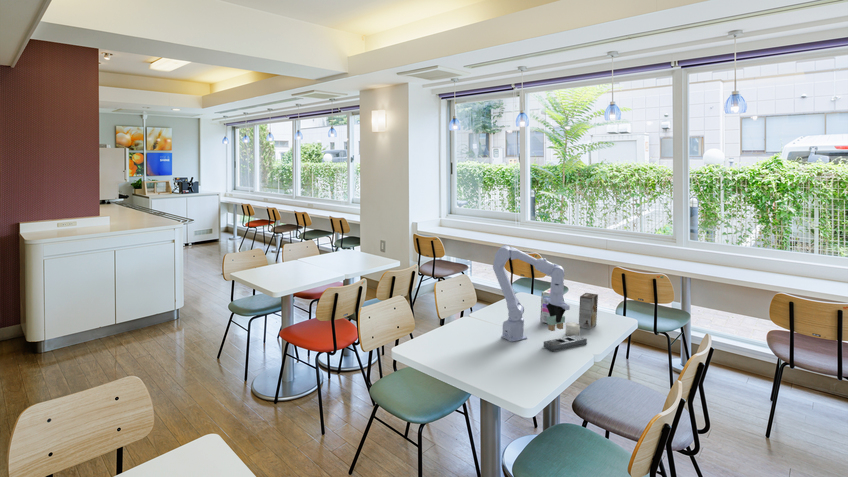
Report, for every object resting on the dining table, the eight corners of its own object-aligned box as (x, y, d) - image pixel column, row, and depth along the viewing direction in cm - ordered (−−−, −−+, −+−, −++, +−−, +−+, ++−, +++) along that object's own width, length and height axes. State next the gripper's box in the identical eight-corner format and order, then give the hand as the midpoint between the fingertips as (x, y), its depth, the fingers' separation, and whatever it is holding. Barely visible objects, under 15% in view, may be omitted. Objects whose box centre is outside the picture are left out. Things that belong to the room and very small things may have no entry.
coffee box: (584, 322, 241) (585, 292, 239) (596, 324, 237) (598, 294, 235) (578, 326, 234) (579, 296, 231) (590, 329, 230) (592, 298, 227)
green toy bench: (551, 331, 210) (551, 318, 209) (546, 329, 212) (547, 317, 211) (564, 328, 213) (565, 316, 212) (559, 326, 216) (560, 314, 215)
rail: (552, 351, 202) (552, 346, 202) (543, 346, 208) (543, 341, 207) (586, 344, 211) (586, 338, 211) (576, 339, 216) (577, 334, 216)
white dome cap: (572, 337, 219) (572, 327, 218) (562, 333, 225) (563, 323, 224) (582, 335, 222) (582, 325, 221) (572, 331, 227) (572, 321, 227)
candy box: (550, 324, 237) (552, 293, 234) (539, 322, 240) (541, 291, 238) (560, 318, 248) (562, 288, 245) (550, 315, 251) (551, 286, 249)
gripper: (575, 295, 205) (573, 324, 207) (552, 287, 218) (551, 315, 220) (563, 297, 202) (561, 326, 204) (540, 289, 215) (539, 317, 217)
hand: (555, 321), depth 212 cm, fingers closed on green toy bench, 3 cm apart
